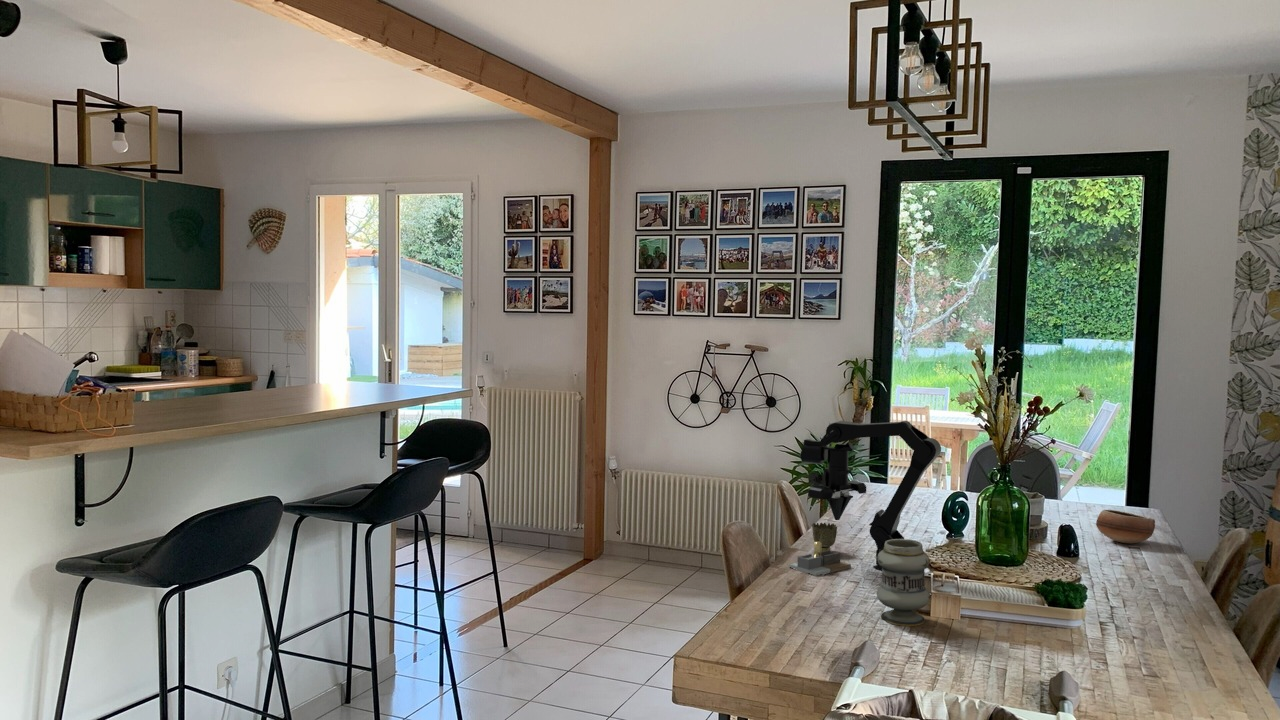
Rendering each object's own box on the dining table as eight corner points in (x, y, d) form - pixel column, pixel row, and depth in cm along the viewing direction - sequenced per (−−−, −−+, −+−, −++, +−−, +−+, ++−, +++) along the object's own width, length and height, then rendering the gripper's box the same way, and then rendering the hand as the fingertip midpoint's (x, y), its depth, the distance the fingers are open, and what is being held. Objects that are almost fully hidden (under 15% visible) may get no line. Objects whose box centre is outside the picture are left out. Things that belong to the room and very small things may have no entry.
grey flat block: (850, 567, 265) (850, 554, 265) (831, 572, 260) (831, 558, 260) (823, 560, 273) (823, 547, 273) (804, 564, 268) (804, 551, 268)
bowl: (1164, 546, 292) (1165, 514, 292) (1126, 550, 286) (1127, 517, 286) (1121, 535, 307) (1122, 504, 306) (1084, 539, 301) (1085, 507, 300)
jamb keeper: (830, 572, 260) (830, 558, 260) (816, 575, 256) (816, 561, 256) (803, 564, 268) (803, 551, 268) (789, 567, 264) (789, 554, 264)
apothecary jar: (865, 614, 224) (866, 538, 223) (908, 609, 228) (909, 534, 227) (896, 630, 212) (898, 550, 212) (941, 624, 217) (942, 546, 216)
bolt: (823, 564, 264) (823, 542, 263) (808, 567, 260) (808, 545, 260) (816, 562, 265) (817, 541, 265) (801, 565, 262) (802, 544, 262)
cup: (839, 554, 279) (839, 527, 279) (813, 554, 280) (814, 527, 279) (834, 548, 287) (834, 522, 286) (809, 548, 287) (810, 521, 287)
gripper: (838, 459, 282) (837, 511, 283) (794, 464, 271) (793, 519, 272) (868, 464, 273) (867, 517, 274) (823, 470, 262) (822, 526, 263)
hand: (837, 519), depth 271 cm, fingers closed
